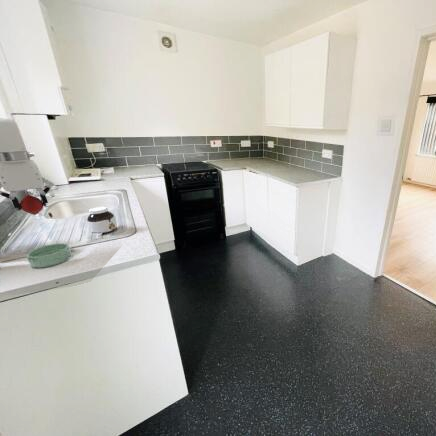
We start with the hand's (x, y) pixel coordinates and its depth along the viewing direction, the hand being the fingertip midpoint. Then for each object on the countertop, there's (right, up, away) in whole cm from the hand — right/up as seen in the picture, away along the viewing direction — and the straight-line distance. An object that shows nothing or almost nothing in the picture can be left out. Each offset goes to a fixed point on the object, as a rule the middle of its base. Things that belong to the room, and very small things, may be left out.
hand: (32, 206), depth 90 cm
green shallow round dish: (+6, -20, +1) cm, 21 cm away
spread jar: (+5, -11, +28) cm, 31 cm away
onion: (0, -3, +1) cm, 3 cm away
